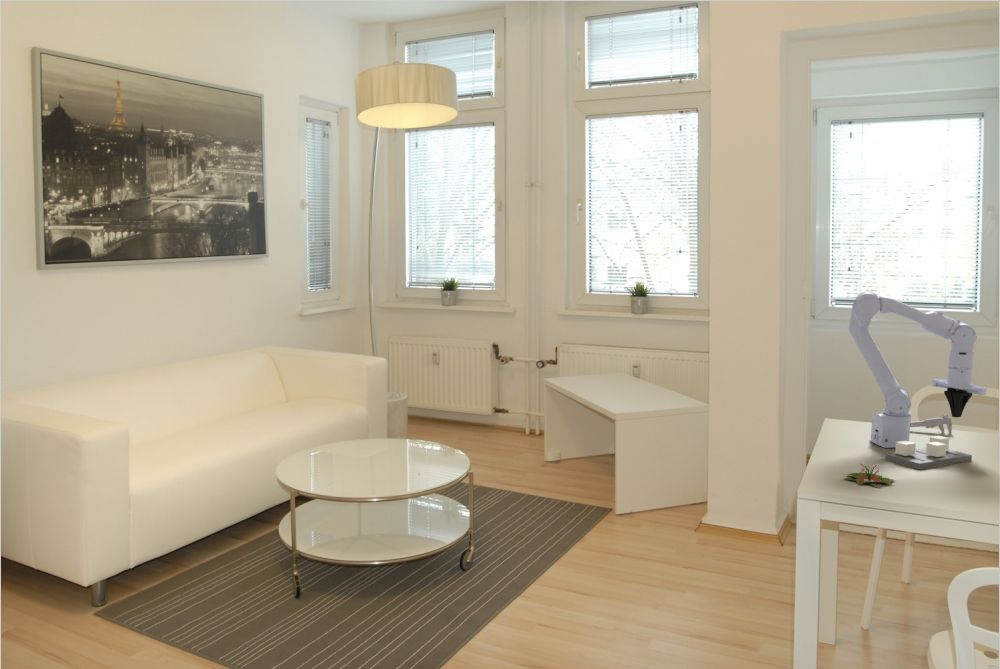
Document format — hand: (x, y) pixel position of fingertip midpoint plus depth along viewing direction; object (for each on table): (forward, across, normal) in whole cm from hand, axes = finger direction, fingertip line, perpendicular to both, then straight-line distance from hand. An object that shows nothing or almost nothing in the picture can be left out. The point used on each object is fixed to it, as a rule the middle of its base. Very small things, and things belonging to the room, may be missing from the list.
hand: (956, 416), depth 228 cm
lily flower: (+10, -10, +45) cm, 47 cm away
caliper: (+10, +20, -9) cm, 24 cm away
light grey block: (+8, -2, +22) cm, 23 cm away
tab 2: (+7, -6, +15) cm, 18 cm away
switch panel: (+9, -4, +15) cm, 18 cm away
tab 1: (+8, -2, +9) cm, 12 cm away
